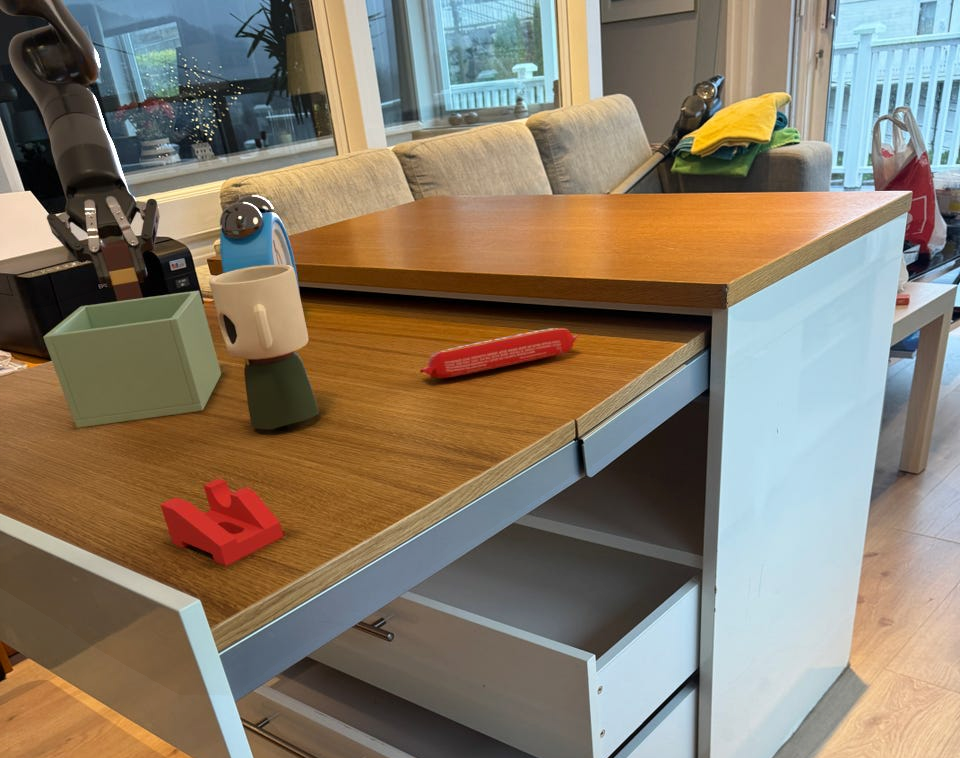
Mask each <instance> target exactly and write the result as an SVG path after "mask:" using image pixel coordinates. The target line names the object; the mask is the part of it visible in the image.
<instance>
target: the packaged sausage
mask: <svg viewBox="0 0 960 758" xmlns="http://www.w3.org/2000/svg"><path fill="white" fill-rule="evenodd" d="M579 336H580V334H575V335H574V336H573V335H572V333H571V332H570V330H569V329H568V328H565V327H552V328H545V329H538V330H534V331H529V332H524V333H518V334H514V335H508V336H504V337H500V338H495V339H489V340H484V341H480V342H474V343H470V344H465V345H460V346H456V347H451V348H447V349H443V350H440V351H437V352H434V353H433V354H432V355H431V356H430V357H429V359H428V362H427V365H426V367H423V368H421V369H420V370H419V371H420V372H419V373H425V374H426V375H429V376H430V377H431V378H434V379H443V378H454V377H458V376H465V375H469V374H474V373H479V372H484V371H488V370H494V369H498V368H502V367H507V366H512V365H516V364H521V363H526V362H532V361H536V360H541V359H545V358H550V357H555V356H558V355H562V354H564V353H567V352H570V351H571V350H572V348H573V347H574V343H575V342H576V340H577V338H579Z"/></svg>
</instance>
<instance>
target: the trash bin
mask: <svg viewBox="0 0 960 758" xmlns="http://www.w3.org/2000/svg"><path fill="white" fill-rule="evenodd" d="M43 341H44V344H45V346H46V349H47V351H48V354H49V357H50V360H51V362H52V365H53V368H54V371H55V373H56V377H57V378H58V381H59V384H60V386H61V389H62V390H61V391H62V392H63V395H64V398H65V400H66V403H67V406H68V409H69V411H70V414H71V417H72V419H73V422H74V424H75V428H76V429H82V428H87V427H94V426H102V425H110V424H117V423H124V422H131V421H138V420H147V419H153V418H160V417H167V416H175V415H182V414H190V413H196V412H203V411H204V409H205V407H206V405H207V403H208V401H209V399H210V397H211V396H212V393H213V391H214V390H215V387H216V385H217V383H218V381H219V380H220V377H221V375H222V371H221V368H220V363H219V359H218V357H217V353H216V348H215V345H214V340H213V338H212V333H211V329H210V326H209V323H208V319H207V314H206V311H205V308H204V304H203V300H202V296H201V292H200V290H193V291H185V292H178V293H177V292H176V293H170V294H164V295H156V296H147V297H143V298H140V299H132V300H125V301H110V302H103V303H97V304H89V305H81V306H79V307H78V308H77V309H76V310H74V311H73V312H72V313H71V314H69V315H68V316H67V317H66V318H64V319H63V320H62V321H61V322H60V323H58V324H57V325H56V326H55V327H53V328H52V329H51V330H50V331H49V332H47V333H46V334H45V335H44V336H43Z"/></svg>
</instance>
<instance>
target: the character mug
mask: <svg viewBox="0 0 960 758" xmlns="http://www.w3.org/2000/svg"><path fill="white" fill-rule="evenodd" d="M208 283H209V287H210V292H211V295H212V299H213V302H214V306H215V307H214V308H215V310H216V314H217V319H218V323H219V324H218V325H219V328H220V333H221V336H222V339H223V341H224V345H225V349H226V351H227V353H228V355H229V356H230V357H231V358H236V359H242V360H244V363H245V364H244V369H243V374H244V382H245V391H246V400H247V408H248V414H249V419H250V425H251V427H252V428H255V429H257V430H275V429H277V428H278V429H279V428H281V427H283V428H284V429H289V428H290V427H291V425H292V424H296V423H300V422H304V421H306V420H309V419H312V418H315V417H316V416H317V415H318V414H320V411H319V410H320V409H319V406H318V404H317V399H316V397H315V394H314V390H313V387H312V385H311V382H310V379H309V376H308V374H307V371H306V368H305V365H304V361H303V359H302V358H301V357H300V356H299V354H298V353H297V352H296V351H299V350H300V349H302V348H304V347H305V346H307V345H308V342H309V341H310V340H309V332H308V327H307V324H306V319H305V314H304V309H303V305H302V300H301V299H302V298H301V294H300V289H299V290H298V285H299V284H298V285H297V280H296V275H295V271H294V268H293V267H292V266H290V265H263V266H254V267H248V268H244V269H239V270H234V271H230V272H227V273H223V272H222V273H221V274H218V275H215V276H213V277H211V278H209V280H208Z"/></svg>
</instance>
